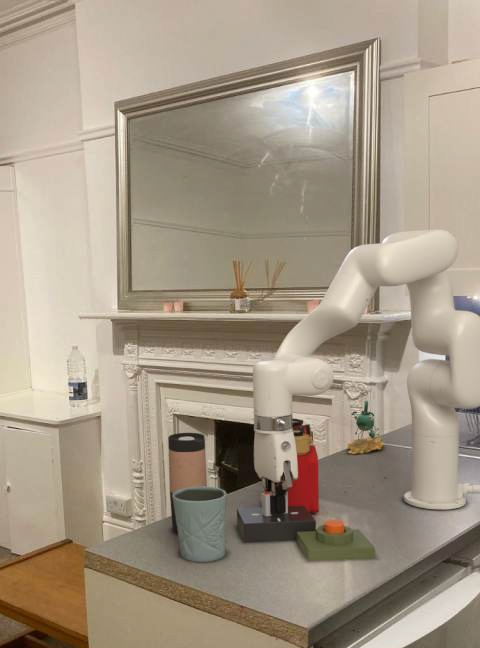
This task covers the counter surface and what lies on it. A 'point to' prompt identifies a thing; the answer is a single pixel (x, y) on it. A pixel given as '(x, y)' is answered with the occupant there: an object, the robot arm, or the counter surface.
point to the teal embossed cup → (201, 522)
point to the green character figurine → (364, 424)
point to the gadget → (274, 524)
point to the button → (334, 527)
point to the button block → (335, 545)
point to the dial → (267, 503)
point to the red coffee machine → (305, 470)
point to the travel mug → (186, 464)
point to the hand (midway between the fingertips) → (275, 511)
